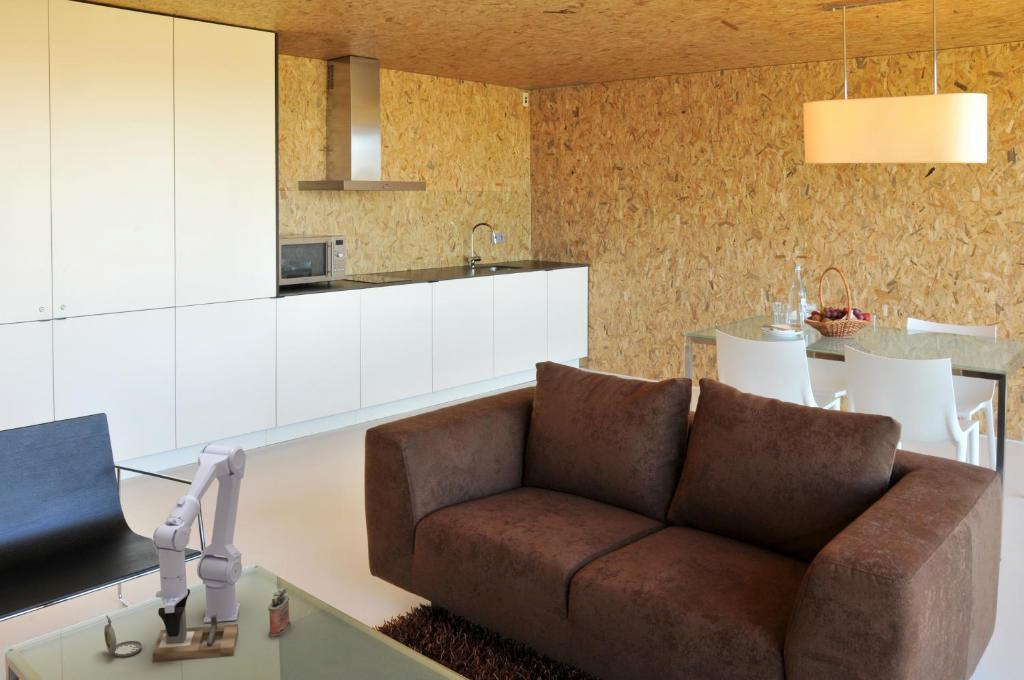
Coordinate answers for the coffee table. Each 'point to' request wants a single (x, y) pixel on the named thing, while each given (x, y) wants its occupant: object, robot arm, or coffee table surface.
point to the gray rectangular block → (182, 631)
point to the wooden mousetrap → (198, 643)
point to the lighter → (279, 614)
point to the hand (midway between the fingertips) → (176, 628)
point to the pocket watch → (112, 646)
